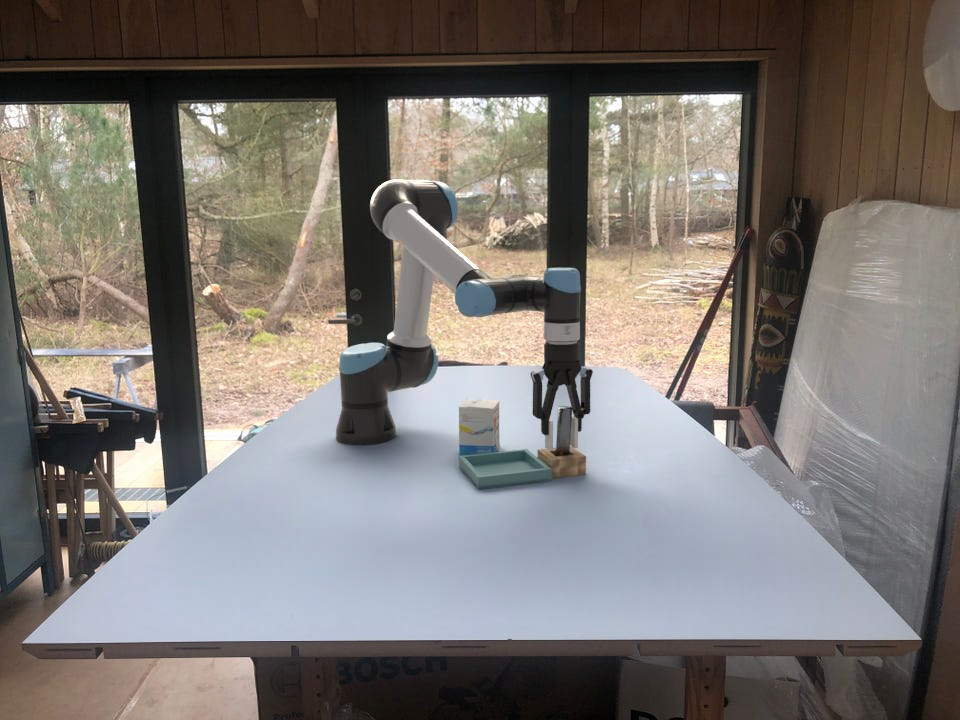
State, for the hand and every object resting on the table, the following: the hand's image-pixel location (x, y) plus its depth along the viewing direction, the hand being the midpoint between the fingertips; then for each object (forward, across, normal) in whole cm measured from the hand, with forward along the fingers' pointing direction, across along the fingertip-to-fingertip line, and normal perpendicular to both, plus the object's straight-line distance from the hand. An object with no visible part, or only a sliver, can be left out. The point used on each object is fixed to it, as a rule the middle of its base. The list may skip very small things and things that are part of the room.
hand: (561, 447), depth 164 cm
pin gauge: (+5, 0, 0) cm, 5 cm away
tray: (+5, -12, +2) cm, 14 cm away
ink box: (+6, -12, +20) cm, 24 cm away
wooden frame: (+5, 0, 0) cm, 5 cm away
